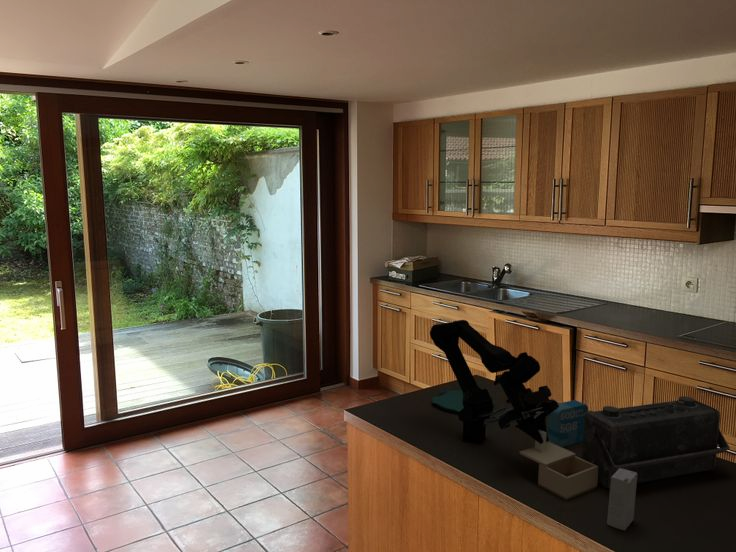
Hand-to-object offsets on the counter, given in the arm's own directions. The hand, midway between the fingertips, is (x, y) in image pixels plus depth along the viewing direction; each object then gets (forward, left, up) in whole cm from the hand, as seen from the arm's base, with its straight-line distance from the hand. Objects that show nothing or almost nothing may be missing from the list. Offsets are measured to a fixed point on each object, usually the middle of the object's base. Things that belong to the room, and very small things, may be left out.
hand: (544, 442), depth 165 cm
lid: (+1, -1, -3) cm, 3 cm away
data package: (+5, +24, -9) cm, 26 cm away
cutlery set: (-26, +42, -10) cm, 51 cm away
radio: (+28, +10, -9) cm, 31 cm away
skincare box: (+18, -19, -9) cm, 28 cm away
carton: (+6, -5, -9) cm, 12 cm away
